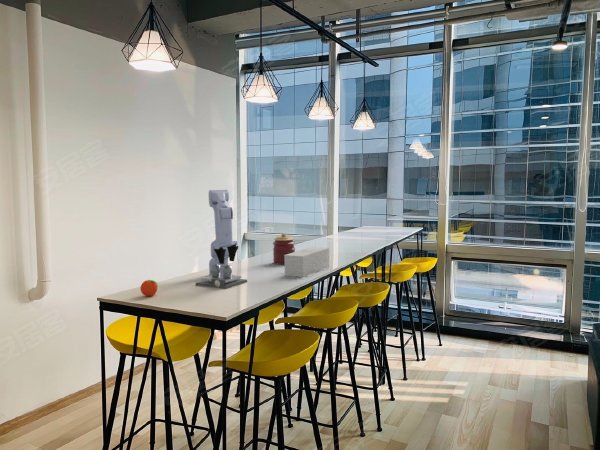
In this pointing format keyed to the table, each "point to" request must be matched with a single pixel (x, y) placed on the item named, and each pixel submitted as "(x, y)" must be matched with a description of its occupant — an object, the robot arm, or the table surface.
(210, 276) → the pan
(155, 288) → the clementine
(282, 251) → the canister
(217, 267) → the spacer
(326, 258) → the light grey rectangular block
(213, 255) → the robot arm
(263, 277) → the table surface
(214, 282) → the scale
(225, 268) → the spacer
